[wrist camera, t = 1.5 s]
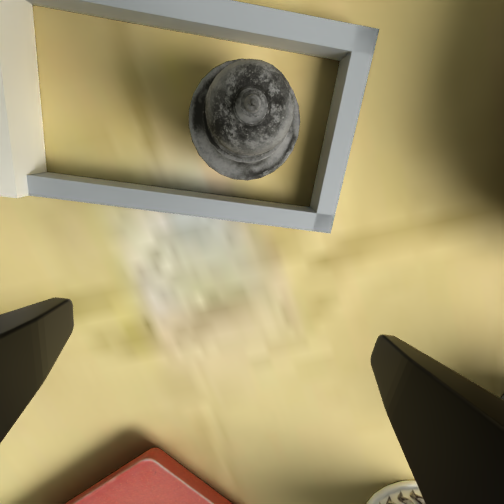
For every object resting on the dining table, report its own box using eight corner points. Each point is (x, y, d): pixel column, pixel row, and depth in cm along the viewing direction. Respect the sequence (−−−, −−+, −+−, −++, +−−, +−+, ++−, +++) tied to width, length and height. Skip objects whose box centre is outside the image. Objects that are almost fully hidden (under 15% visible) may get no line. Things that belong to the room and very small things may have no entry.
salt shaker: (298, 158, 20) (380, 177, 9) (215, 185, 20) (188, 238, 9) (274, 60, 18) (340, -83, 7) (182, 92, 18) (95, 8, 7)
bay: (29, 187, 20) (-6, 195, 17) (6, -28, 16) (-44, -64, 13) (322, 225, 21) (335, 237, 19) (363, 41, 18) (388, 22, 15)
